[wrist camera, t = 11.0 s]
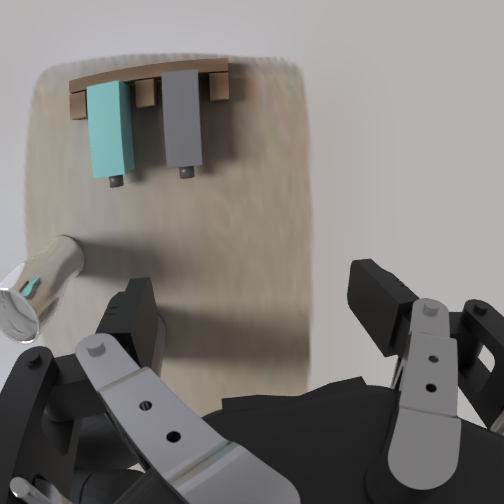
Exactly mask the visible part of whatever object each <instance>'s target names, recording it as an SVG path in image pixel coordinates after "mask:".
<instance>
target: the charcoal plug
mask: <svg viewBox="0 0 504 504" xmlns="http://www.w3.org/2000/svg"><path fill="white" fill-rule="evenodd" d="M162 100H163V119H164V135H165V149H166V161H167V168H176V167H179V171H180V178H181V179H186V178H193V177H195V175H194V166H197V165H202V164H203V150H202V133H201V114H200V92H199V74H198V69H194V70H183V71H173V72H165V73H162Z"/></svg>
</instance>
